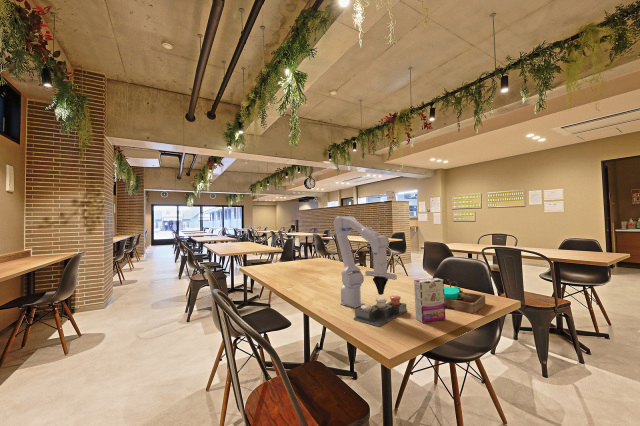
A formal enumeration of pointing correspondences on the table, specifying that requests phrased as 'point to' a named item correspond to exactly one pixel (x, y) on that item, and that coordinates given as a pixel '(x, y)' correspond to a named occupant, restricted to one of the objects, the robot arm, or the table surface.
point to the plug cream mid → (381, 303)
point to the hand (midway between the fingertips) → (380, 294)
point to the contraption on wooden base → (454, 294)
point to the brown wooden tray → (466, 306)
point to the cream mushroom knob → (366, 308)
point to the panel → (379, 314)
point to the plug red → (395, 300)
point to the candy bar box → (429, 300)
